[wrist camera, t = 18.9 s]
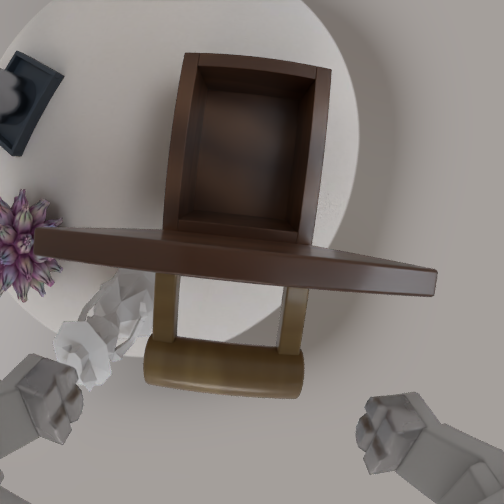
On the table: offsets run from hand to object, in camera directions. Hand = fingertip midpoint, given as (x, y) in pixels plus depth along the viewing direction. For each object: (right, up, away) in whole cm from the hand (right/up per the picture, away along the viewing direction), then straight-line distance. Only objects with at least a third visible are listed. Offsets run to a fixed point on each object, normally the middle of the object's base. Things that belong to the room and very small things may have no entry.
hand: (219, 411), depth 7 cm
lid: (0, +5, +8) cm, 9 cm away
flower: (-24, +6, +23) cm, 34 cm away
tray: (-29, +23, +19) cm, 41 cm away
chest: (0, +14, +22) cm, 26 cm away
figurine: (-11, +1, +25) cm, 27 cm away
